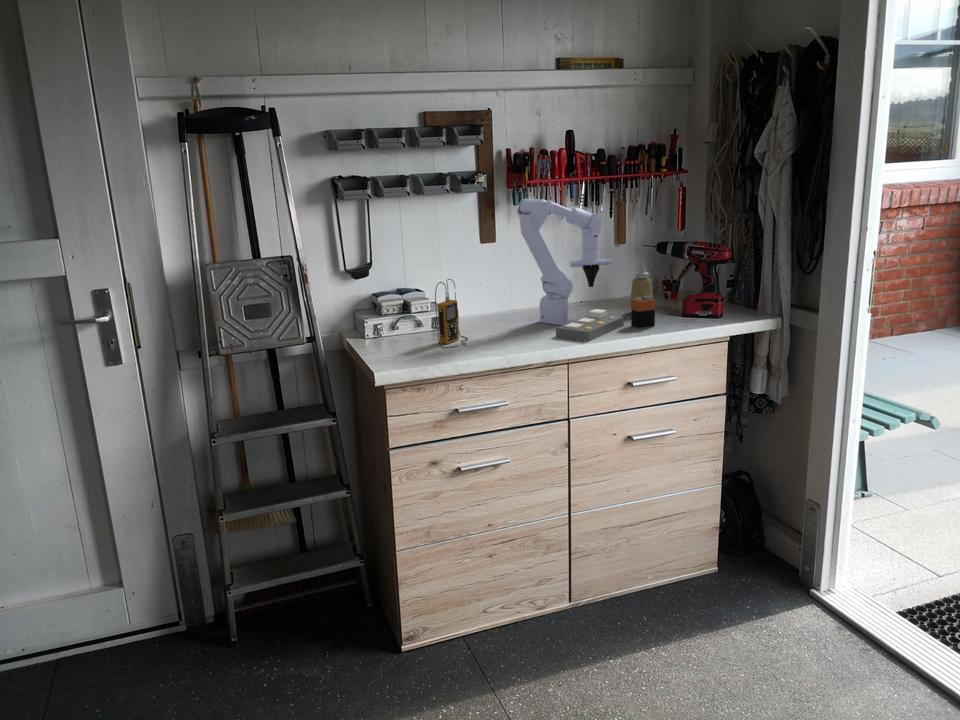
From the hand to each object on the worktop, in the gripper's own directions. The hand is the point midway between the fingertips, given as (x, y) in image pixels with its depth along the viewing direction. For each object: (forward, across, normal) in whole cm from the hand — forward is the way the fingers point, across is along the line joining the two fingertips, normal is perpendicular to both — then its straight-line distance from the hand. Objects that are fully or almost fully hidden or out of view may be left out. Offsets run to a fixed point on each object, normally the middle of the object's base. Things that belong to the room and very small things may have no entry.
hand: (590, 286), depth 275 cm
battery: (+11, +13, -20) cm, 26 cm away
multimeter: (+10, -48, -29) cm, 57 cm away
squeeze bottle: (+11, +18, 0) cm, 21 cm away
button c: (+8, -1, -15) cm, 18 cm away
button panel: (+10, -5, -23) cm, 25 cm away
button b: (+10, -6, -22) cm, 24 cm away
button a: (+10, -11, -28) cm, 31 cm away
